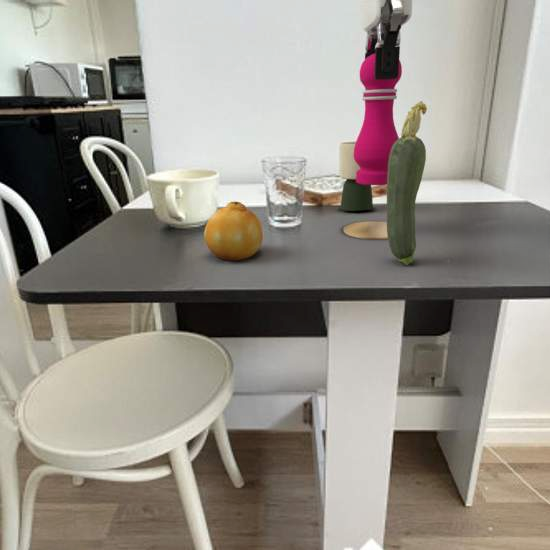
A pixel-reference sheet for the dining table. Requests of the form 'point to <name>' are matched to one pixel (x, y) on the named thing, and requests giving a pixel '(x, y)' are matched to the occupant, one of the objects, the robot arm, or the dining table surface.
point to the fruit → (233, 232)
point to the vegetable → (405, 186)
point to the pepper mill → (375, 125)
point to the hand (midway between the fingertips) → (380, 79)
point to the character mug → (352, 181)
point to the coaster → (367, 230)
